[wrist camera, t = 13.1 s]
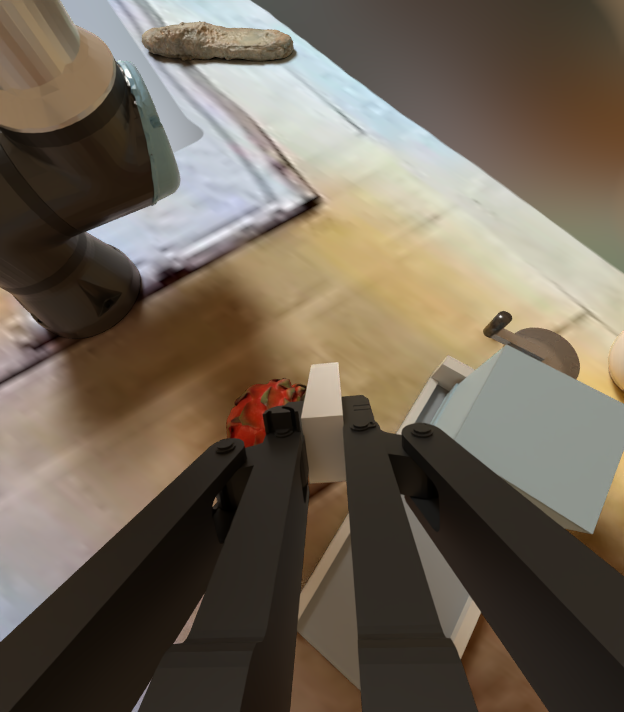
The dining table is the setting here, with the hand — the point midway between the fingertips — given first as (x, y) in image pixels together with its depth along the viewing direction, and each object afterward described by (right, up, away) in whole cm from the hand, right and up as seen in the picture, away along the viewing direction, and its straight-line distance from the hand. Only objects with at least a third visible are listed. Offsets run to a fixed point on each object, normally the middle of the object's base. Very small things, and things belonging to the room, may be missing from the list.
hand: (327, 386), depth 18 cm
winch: (+20, -1, +20) cm, 29 cm away
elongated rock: (-22, +70, +53) cm, 90 cm away
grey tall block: (+16, -9, +17) cm, 25 cm away
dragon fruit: (-5, -7, +20) cm, 22 cm away
